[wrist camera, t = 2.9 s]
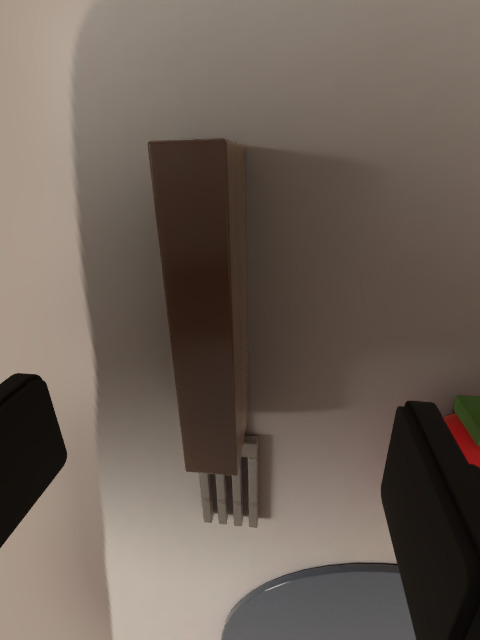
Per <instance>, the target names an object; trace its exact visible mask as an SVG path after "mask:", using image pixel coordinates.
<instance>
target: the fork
mask: <svg viewBox="0 0 480 640" xmlns="http://www.w3.org/2000/svg"><path fill="white" fill-rule="evenodd" d="M148 151H149V160H150V168H151V177H152V185H153V194H154V202H155V211H156V220H157V228H158V237H159V245H160V254H161V262H162V271H163V280H164V288H165V297H166V305H167V314H168V322H169V331H170V339H171V348H172V357H173V365H174V374H175V382H176V391H177V399H178V408H179V417H180V425H181V434H182V442H183V451H184V459H185V468H186V471H187V472H197V473H199V475H200V485H201V496H202V506H203V517H204V522H208V523H212V519H213V515H214V512H213V499H212V487H211V474H215V477H216V491H217V505H218V519H219V524H227V520H228V502H227V483H226V475H229V476H232V492H233V515H234V525H235V526H242V523H243V491H242V457H248V494H249V527H253V528H257V526H258V437H257V436H247V435H245V430H246V424H247V418H248V370H247V308H246V246H245V184H244V147H243V145H240V144H237V143H234V142H232V141H229V140H226V139H223V138H222V139H193V140H164V141H150V142H148Z"/></svg>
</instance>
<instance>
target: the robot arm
mask: <svg viewBox="0 0 480 640" xmlns="http://www.w3.org/2000/svg"><path fill="white" fill-rule="evenodd" d="M66 459H67V451H66V448H65V444H64V441H63V438H62V435H61V431H60V428H59V424H58V421H57V418H56V415H55V411H54V408H53V404H52V401H51V397H50V394H49V391H48V388H47V384H46V383H45V382H44V381H43V380H42V378H41V377H40V376H38V375H36V374H21V373H17V374H14V375H12V376H10V377H9V378H8V379H6V380H5V381H4V382H2V383H1V384H0V548H1V546H2V545H3V544H4V543H5V541H6V540H7V539H8V537H9V536H10V535H11V534H12V532H13V531H14V530H15V528H16V527H17V526H18V524H19V523H20V522H21V521H22V519H23V518H24V517H25V515H26V514H27V513H28V511H29V510H30V509H31V507H32V506H33V505H34V504H35V502H36V501H37V500H38V498H39V497H40V496H41V495H42V493H43V492H44V491H45V489H46V488H47V487H48V486H49V484H50V483H51V482H52V480H53V479H54V478H55V476H56V475H57V474H58V473H59V471H60V470H61V468H62V467H63V466H64V464H65V462H66ZM381 498H382V504H383V508H384V512H385V516H386V520H387V524H388V528H389V532H390V536H391V540H392V544H393V548H394V552H395V556H396V560H397V564H398V568H399V572H400V576H401V580H402V584H403V588H404V592H405V596H406V600H407V604H408V609H409V613H410V617H411V621H412V625H413V629H414V633H415V637H416V640H480V468H479V467H478V466H476V465H475V464H469V463H468V461H467V459H466V457H465V456H464V454H463V452H462V450H461V448H460V447H459V445H458V443H457V441H456V440H455V438H454V436H453V434H452V433H451V431H450V429H449V427H448V426H447V424H446V422H445V420H444V419H443V417H442V415H441V413H440V412H439V410H438V408H437V406H436V405H435V404H434V403H432V402H419V401H407V402H406V403H405V406H404V407H403V406H399V407H397V410H396V414H395V419H394V424H393V429H392V434H391V439H390V444H389V449H388V454H387V459H386V464H385V469H384V474H383V479H382V484H381Z"/></svg>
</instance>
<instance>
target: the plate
mask: <svg viewBox="0 0 480 640" xmlns="http://www.w3.org/2000/svg"><path fill="white" fill-rule="evenodd" d="M221 640H416V637H415V633H414V629H413V625H412V621H411V617H410V613H409V609H408V604H407V600H406V596H405V592H404V588H403V584H402V580H401V576H400V572H399V568H398V565H388V564H345V565H333V566H325V567H319V568H313V569H307V570H303V571H299V572H296V573H292V574H288V575H285V576H282V577H280V578H277V579H275V580H272V581H270V582H267V583H265V584H264V585H262V586H260V587H258V588H256V589H255V590H253V591H251V592H250V593H249V594H247V595H246V596H245V597H244V598H242V599H241V600H240V601H239V602H238V603H237V604H236V605H235V607H234V608H233V609H232V610H231V612H230V614H229V615H228V617H227V619H226V621H225V624H224V627H223V631H222V639H221Z"/></svg>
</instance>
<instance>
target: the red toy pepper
mask: <svg viewBox="0 0 480 640" xmlns="http://www.w3.org/2000/svg"><path fill="white" fill-rule="evenodd" d="M453 410H454V411H455V413H454V414H451V415H448V416H446V417H444V418H443V419H444V420H445V422H446V424H447V426H448V427H449V429H450V431H451V433H452V434H453V436H454V438H455V440H456V441H457V443H458V445H459V447H460V448H461V450H462V452H463V454H464V456H465V457H466V459H467V461H468V463H469V464H475V465H476V466H478V467H479V468H480V396H466V395H457V396H456V399H455V402H454V406H453Z"/></svg>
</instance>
